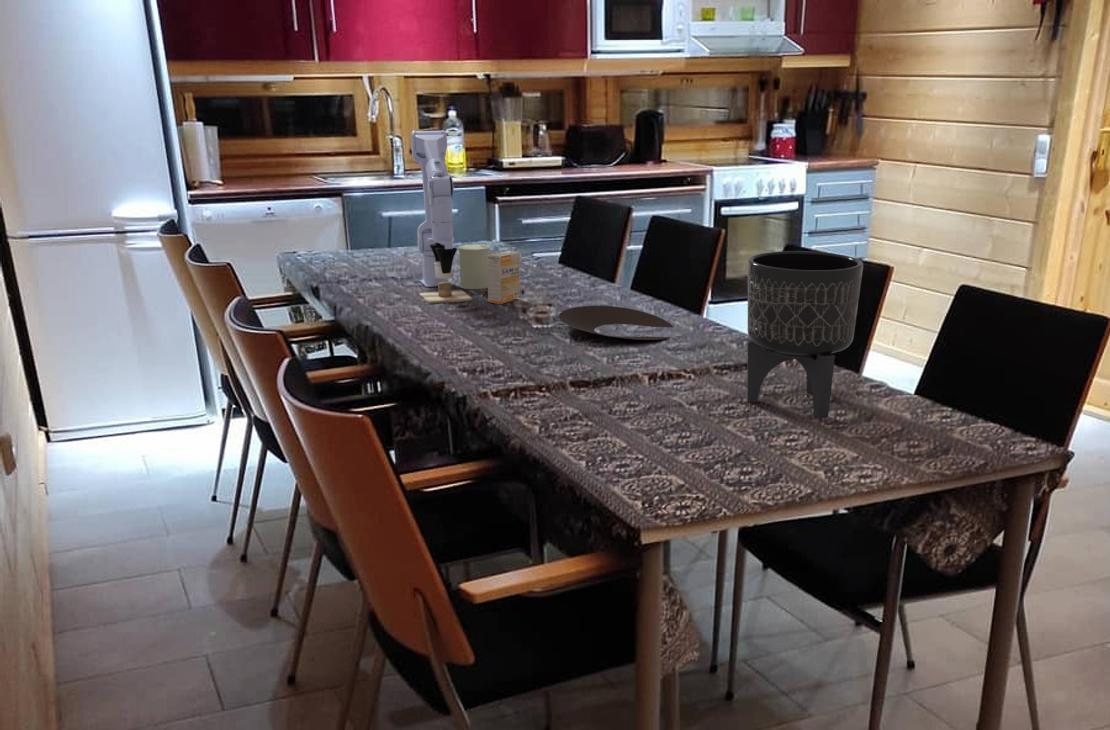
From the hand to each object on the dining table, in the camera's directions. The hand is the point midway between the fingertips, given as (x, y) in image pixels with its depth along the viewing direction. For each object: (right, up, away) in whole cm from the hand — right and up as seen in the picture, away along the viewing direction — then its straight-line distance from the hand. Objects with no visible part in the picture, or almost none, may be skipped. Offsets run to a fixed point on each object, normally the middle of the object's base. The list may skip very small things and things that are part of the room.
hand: (444, 271), depth 258 cm
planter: (+74, -33, -85) cm, 118 cm away
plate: (+45, -18, -33) cm, 59 cm away
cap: (0, -2, 0) cm, 2 cm away
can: (+7, -3, +17) cm, 19 cm away
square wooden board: (0, -7, +2) cm, 7 cm away
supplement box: (+17, -8, -2) cm, 19 cm away
